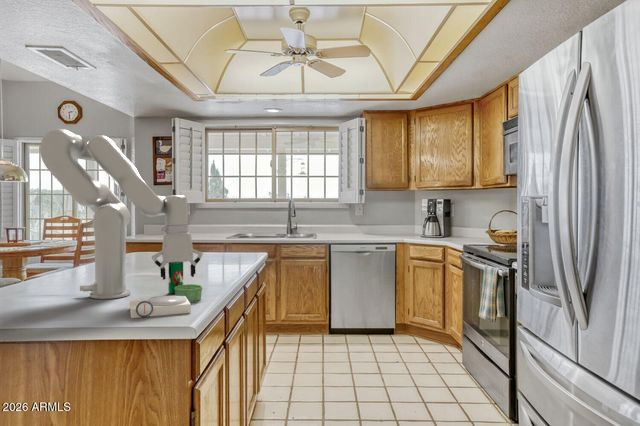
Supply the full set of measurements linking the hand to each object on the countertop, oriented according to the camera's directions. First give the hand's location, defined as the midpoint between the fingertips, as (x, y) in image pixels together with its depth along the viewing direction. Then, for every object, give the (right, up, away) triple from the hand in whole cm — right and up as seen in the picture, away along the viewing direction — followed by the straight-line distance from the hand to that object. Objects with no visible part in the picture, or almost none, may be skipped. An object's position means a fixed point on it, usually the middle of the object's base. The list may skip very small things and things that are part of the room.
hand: (178, 277), depth 149 cm
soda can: (-1, -6, 0) cm, 6 cm away
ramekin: (+7, -6, -10) cm, 14 cm away
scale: (+3, -6, -25) cm, 26 cm away
